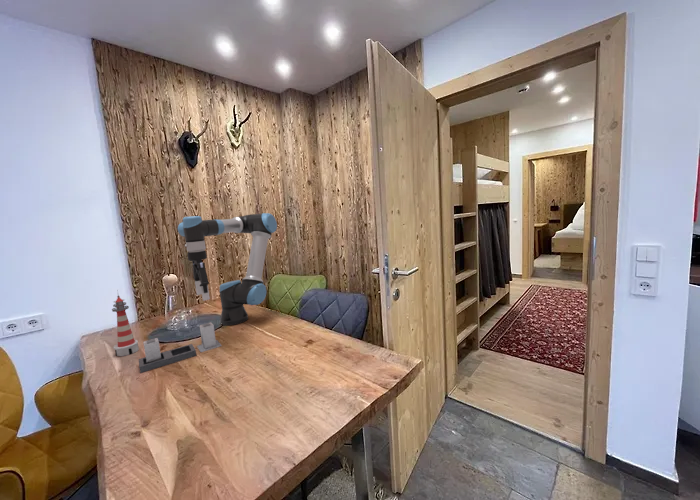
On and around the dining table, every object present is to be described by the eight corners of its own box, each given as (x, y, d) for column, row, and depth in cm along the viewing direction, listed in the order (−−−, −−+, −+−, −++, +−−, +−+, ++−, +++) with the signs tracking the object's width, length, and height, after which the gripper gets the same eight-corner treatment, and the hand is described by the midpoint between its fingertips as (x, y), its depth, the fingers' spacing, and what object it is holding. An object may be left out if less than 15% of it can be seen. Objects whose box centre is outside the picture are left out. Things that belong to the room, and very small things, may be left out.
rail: (192, 349, 134) (191, 343, 133) (196, 356, 127) (195, 350, 126) (139, 365, 122) (138, 359, 121) (140, 374, 114) (139, 367, 114)
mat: (217, 341, 142) (217, 339, 142) (222, 346, 135) (221, 345, 135) (196, 347, 136) (196, 345, 136) (200, 353, 129) (200, 352, 129)
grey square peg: (213, 342, 139) (211, 321, 138) (216, 345, 135) (213, 324, 134) (202, 345, 136) (199, 324, 135) (204, 349, 132) (201, 327, 131)
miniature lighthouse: (118, 358, 130) (106, 293, 126) (112, 354, 135) (101, 291, 132) (142, 350, 137) (132, 288, 133) (135, 346, 143) (125, 286, 139)
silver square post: (161, 360, 124) (157, 337, 123) (162, 364, 121) (158, 340, 119) (146, 364, 121) (143, 340, 120) (147, 368, 118) (143, 344, 116)
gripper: (182, 250, 138) (189, 293, 140) (192, 254, 118) (199, 304, 121) (200, 248, 142) (205, 290, 145) (212, 251, 123) (218, 300, 125)
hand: (203, 297), depth 133 cm, fingers open, 13 cm apart
